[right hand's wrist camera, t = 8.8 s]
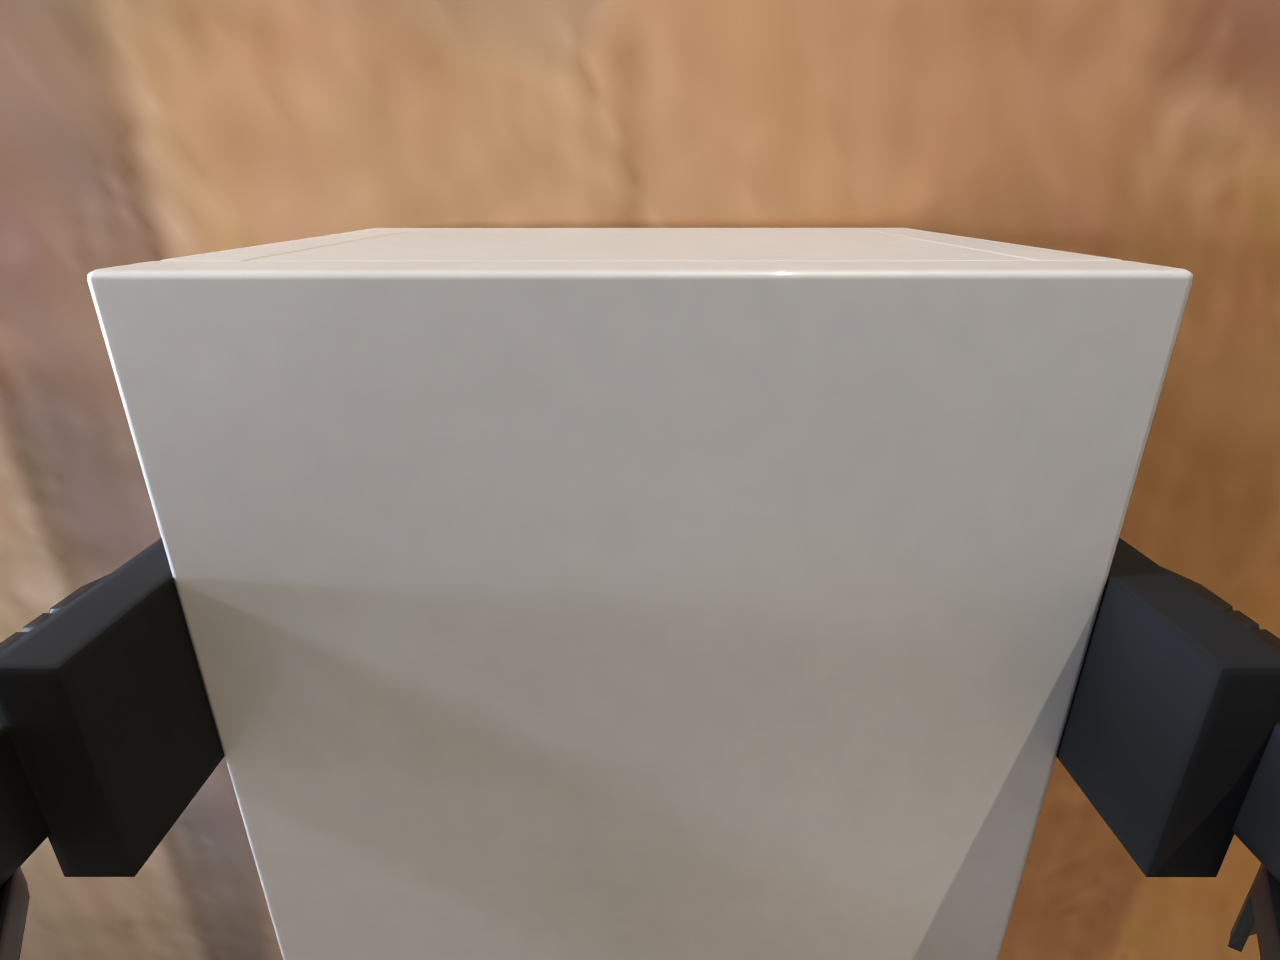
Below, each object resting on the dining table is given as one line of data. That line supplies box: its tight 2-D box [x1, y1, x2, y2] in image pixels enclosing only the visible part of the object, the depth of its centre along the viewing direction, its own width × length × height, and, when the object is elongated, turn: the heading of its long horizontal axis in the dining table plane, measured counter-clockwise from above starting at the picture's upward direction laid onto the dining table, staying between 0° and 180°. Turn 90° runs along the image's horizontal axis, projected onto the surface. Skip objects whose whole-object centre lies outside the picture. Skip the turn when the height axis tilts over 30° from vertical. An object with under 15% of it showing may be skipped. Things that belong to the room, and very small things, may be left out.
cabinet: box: [87, 228, 1193, 960], centre depth 14 cm, size 18×11×8 cm, turn 0°
